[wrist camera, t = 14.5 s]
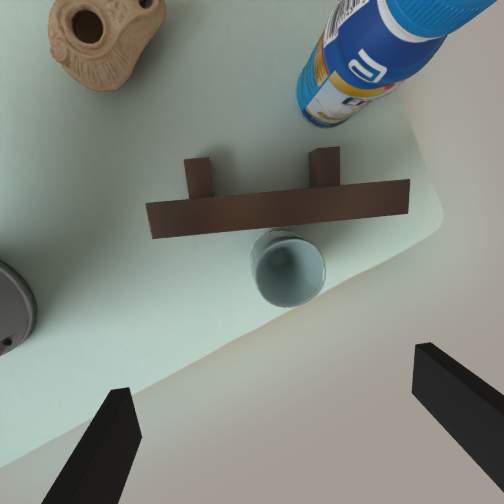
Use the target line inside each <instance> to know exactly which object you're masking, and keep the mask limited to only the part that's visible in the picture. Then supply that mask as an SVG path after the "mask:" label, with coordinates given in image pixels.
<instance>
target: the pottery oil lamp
mask: <svg viewBox="0 0 504 504" xmlns="http://www.w3.org/2000/svg"><path fill="white" fill-rule="evenodd" d="M165 17H166V5H165V1H164V0H56V1H55V3H54V4H53V6H52V8H51V11H50V15H49V24H48V36H49V41H50V44H51V48H50V51H51V55H52V57H53V58H54V59H55V60H56V61H57V62H59V63H60V64H61V65H62V67H63V68H64V69H65V71H66V72H67V73H68V74H69V75H70V76H71V77H72V78H74V79H75V80H76V81H78V82H79V83H80V84H82V85H84V86H85V87H87V88H89V89H92V90H96V91H113V90H116V89H118V88H120V87H121V86H122V85H123V84H124V83H125V82H126V81H127V80H128V79H129V77H130V76H131V74H132V72H133V69H134V67H135V64H136V63H137V60H138V58H139V56H140V55H141V53H142V51H143V49H144V48H145V46H146V45H147V44H148V42H149V41H150V40H151V39H152V37H153V36H154V34H155V33H156V31H157V30H158V29H159V27H160V26H161V24H162V23H163V21H164V18H165Z"/></svg>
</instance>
